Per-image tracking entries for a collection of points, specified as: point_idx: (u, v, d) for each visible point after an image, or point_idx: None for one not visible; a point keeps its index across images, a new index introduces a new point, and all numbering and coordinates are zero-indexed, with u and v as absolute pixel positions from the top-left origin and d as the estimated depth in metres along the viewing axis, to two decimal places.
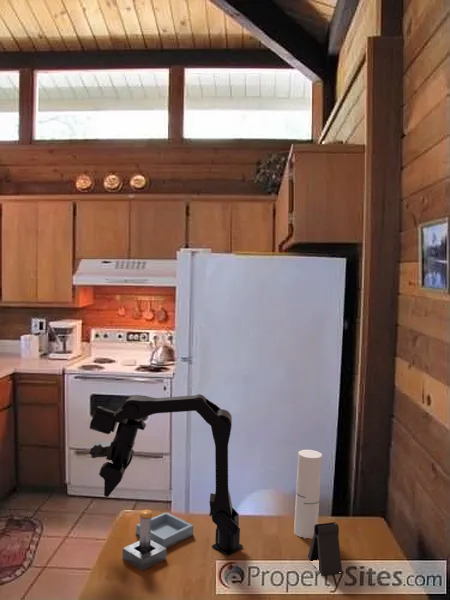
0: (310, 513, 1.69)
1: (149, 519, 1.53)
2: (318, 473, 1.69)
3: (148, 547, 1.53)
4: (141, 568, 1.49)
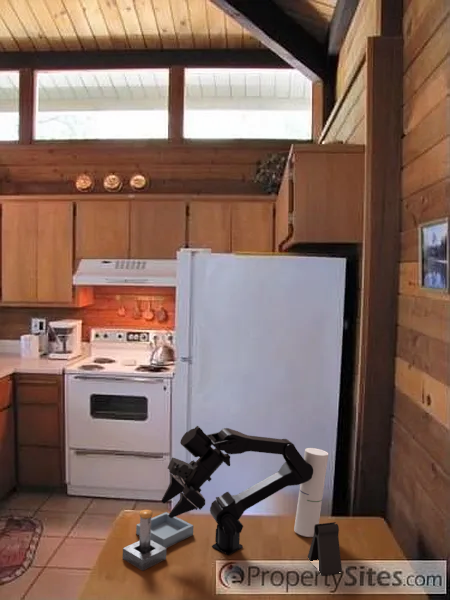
0: (312, 510, 1.70)
1: (149, 519, 1.53)
2: (323, 471, 1.70)
3: (148, 547, 1.53)
4: (141, 568, 1.49)
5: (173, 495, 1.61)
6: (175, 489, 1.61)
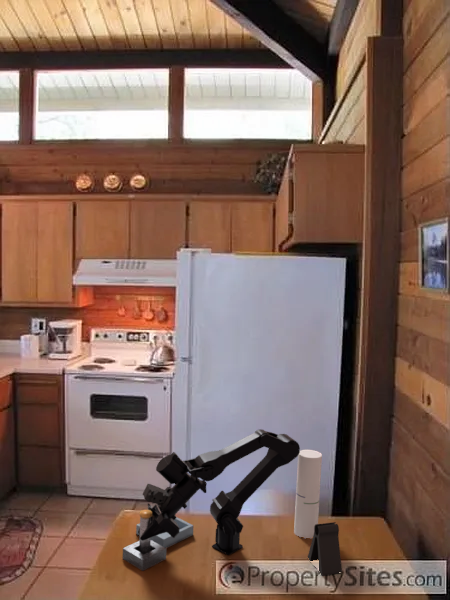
0: (310, 513, 1.69)
1: (149, 519, 1.53)
2: (318, 473, 1.69)
3: (148, 547, 1.53)
4: (141, 568, 1.49)
5: None
6: None
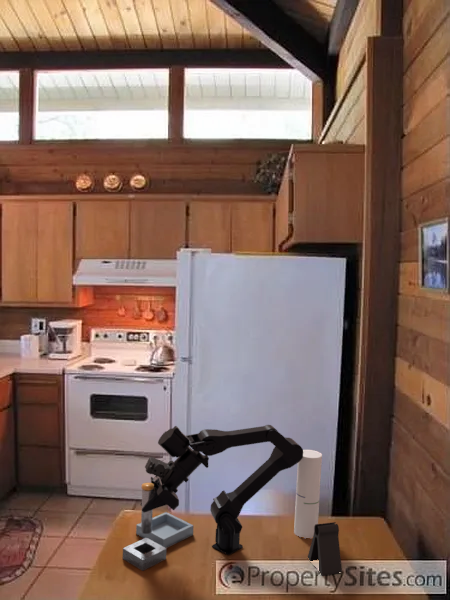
0: (310, 513, 1.69)
1: (151, 491, 1.54)
2: (318, 473, 1.69)
3: (150, 519, 1.55)
4: (141, 568, 1.49)
5: None
6: None
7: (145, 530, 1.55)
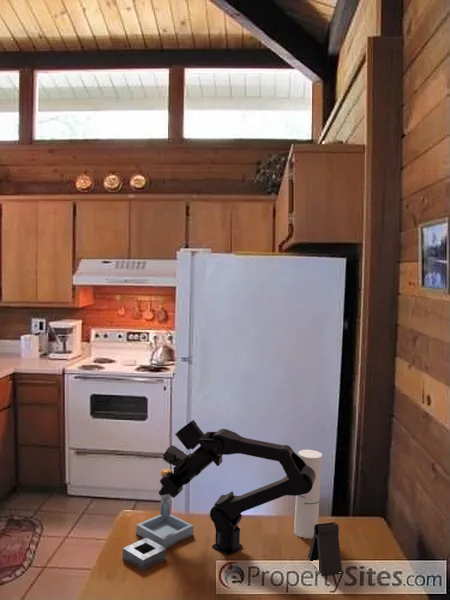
0: (310, 513, 1.69)
1: None
2: (318, 473, 1.69)
3: (166, 503, 1.66)
4: (141, 568, 1.49)
5: None
6: None
7: (162, 512, 1.67)
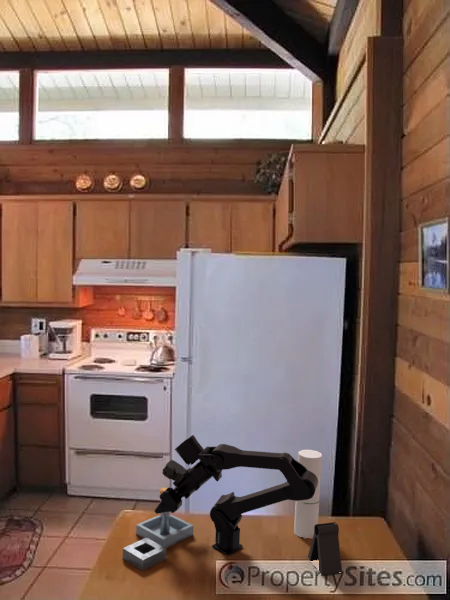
0: (310, 513, 1.69)
1: None
2: (318, 473, 1.69)
3: (165, 522, 1.67)
4: (141, 568, 1.49)
5: None
6: None
7: (161, 531, 1.67)
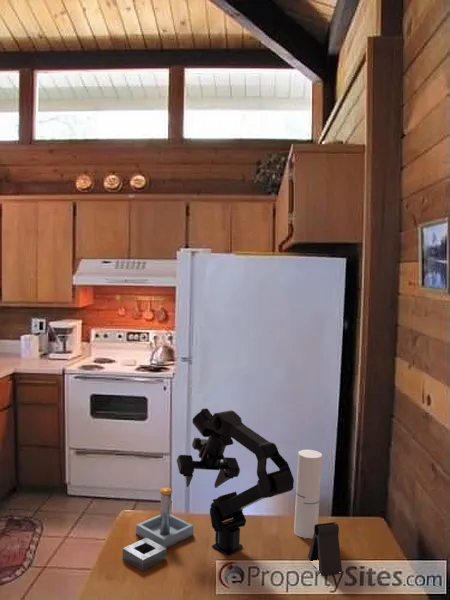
0: (310, 513, 1.69)
1: (166, 496, 1.66)
2: (318, 473, 1.69)
3: (165, 522, 1.67)
4: (141, 568, 1.49)
5: (219, 481, 1.72)
6: (220, 476, 1.72)
7: (161, 531, 1.67)
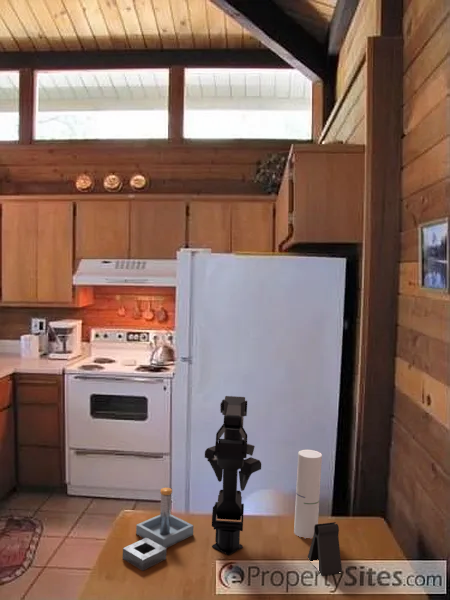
0: (310, 513, 1.69)
1: (166, 496, 1.66)
2: (318, 473, 1.69)
3: (165, 522, 1.67)
4: (141, 568, 1.49)
5: None
6: None
7: (161, 531, 1.67)
